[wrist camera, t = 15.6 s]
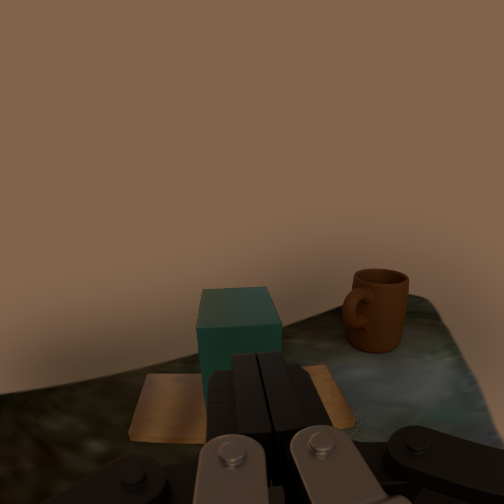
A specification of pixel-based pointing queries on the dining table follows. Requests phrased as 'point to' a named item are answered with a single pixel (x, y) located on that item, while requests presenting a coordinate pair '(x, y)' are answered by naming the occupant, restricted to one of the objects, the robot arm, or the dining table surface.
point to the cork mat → (194, 412)
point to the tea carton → (234, 327)
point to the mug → (376, 309)
